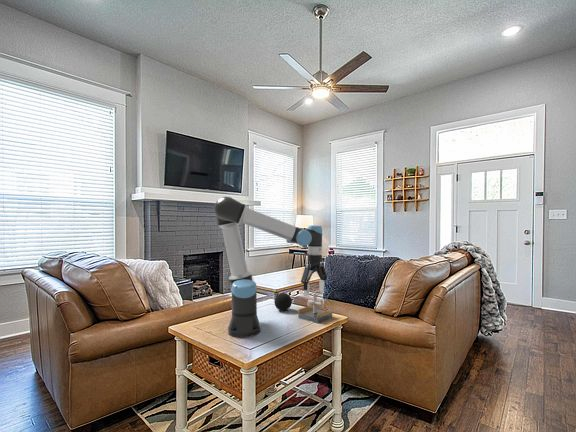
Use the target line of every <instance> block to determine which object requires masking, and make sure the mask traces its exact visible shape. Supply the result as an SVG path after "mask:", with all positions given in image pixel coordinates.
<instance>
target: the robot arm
mask: <svg viewBox="0 0 576 432" xmlns="http://www.w3.org/2000/svg"><path fill="white" fill-rule="evenodd" d="M213 210H214V214H215V217H216V221H217V226H218V228H221V232H222V235H223V241H224V246H225V249H226V257H227V259H228V260H227V261H228V266H229V270H230V275H229V277H228V281H229V285H230V286H229V287H230V291H231V317H230V321H229V324H228V328H227V330H228V331H227V333H228V335H229V336H231V337H235V338H250V337H254V336H256V335H259V334H260V333H261V324H260V323H261V322H260V321H259V318H258V313H257V312H258V309H257V307H258V303H257V302H258V301H257V300H258V298H257V294H258V293H257V292H258V287H257V283H256V282H255V281H254V279H253V275H252V272H250V271H249V269H248V266H247V260H246V255H245V250H244V247H243V245H244V244H243V241H242V236H241V232H240V224H244V225H247V226H250V227H253V228H255V229H258V230H260V231H263V232H265V233H268V234H270V235H273V236H276V237H279V238H282V239H283V240H285V241H286V243H287V244H296V245H297V244H298V245H299V246H302V247H304V246H307V261H308V263H309V264H308V263H306V264H304V269H303V273H302V277H301V280H300V283H302V284H303V296H304V297H307V298H309V297H310V280H311V278H312V276H313V274H314V273H316V274H317V275H318V277H319V278H320V279H319V283H318V284H319V287H318V291H319V292H320V293H325V281H326V280H327V278H328V276H327V271H326V268H325V262H322V261H323V255H322V254H323V227H322V226H321V225H314V224H313V225H308V228H300V227H297V226H295V225H292V224H290V223H288V222H285V221H282V220H280V219H277V218H275V217H272V216H270V215H266V214H264V213H262V212H260V211H256V210H254V209H251V208H248V206H247V204H245V203H241V202H240V201H238V200H237V199H234V198H232V197H230V196H222V197H220V198H218V199H217V200H216V201H215V203H214V207H213Z"/></svg>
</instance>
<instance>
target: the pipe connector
mask: <svg viewBox="0 0 576 432" xmlns="http://www.w3.org/2000/svg"><path fill="white" fill-rule="evenodd" d="M312 297H313V298H312V299H313V300H312V299H307V303H306V304H307V306H310V305H313V310H314V313H317V309H318V306H319V307H323V306H324V305H323V303H324V299H319V300H318V299H317V297H318V296H317V292H313V293H312Z"/></svg>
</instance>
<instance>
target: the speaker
mask: <svg viewBox="0 0 576 432" xmlns="http://www.w3.org/2000/svg"><path fill="white" fill-rule="evenodd" d="M273 302H274V306H275V308H276V309H277V310H279V311H280V312H281V311H282V312H285V311H288V310H289V309H290V308H291V307H292V305H293V304H292V302H293V301H292V298H291V296H290V295H289V294H288V293H285V292H280V293H277V295H276V296H275V298H274V300H273Z"/></svg>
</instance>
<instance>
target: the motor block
mask: <svg viewBox="0 0 576 432" xmlns="http://www.w3.org/2000/svg"><path fill="white" fill-rule="evenodd" d="M297 314H298V315H297V318H298V319H300V320H301V319H302V320H305V321H308V322H311V321H312V323H316V324H320V323H322V322H325V321H327V320H329V319H332V318H333V308H329V309H327V310H324V309H319V308H317V313H314V310H313V305H310V306H308V305H307V306H305V307H304V306H303V307H301V308H299V309H298V310H297Z"/></svg>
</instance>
